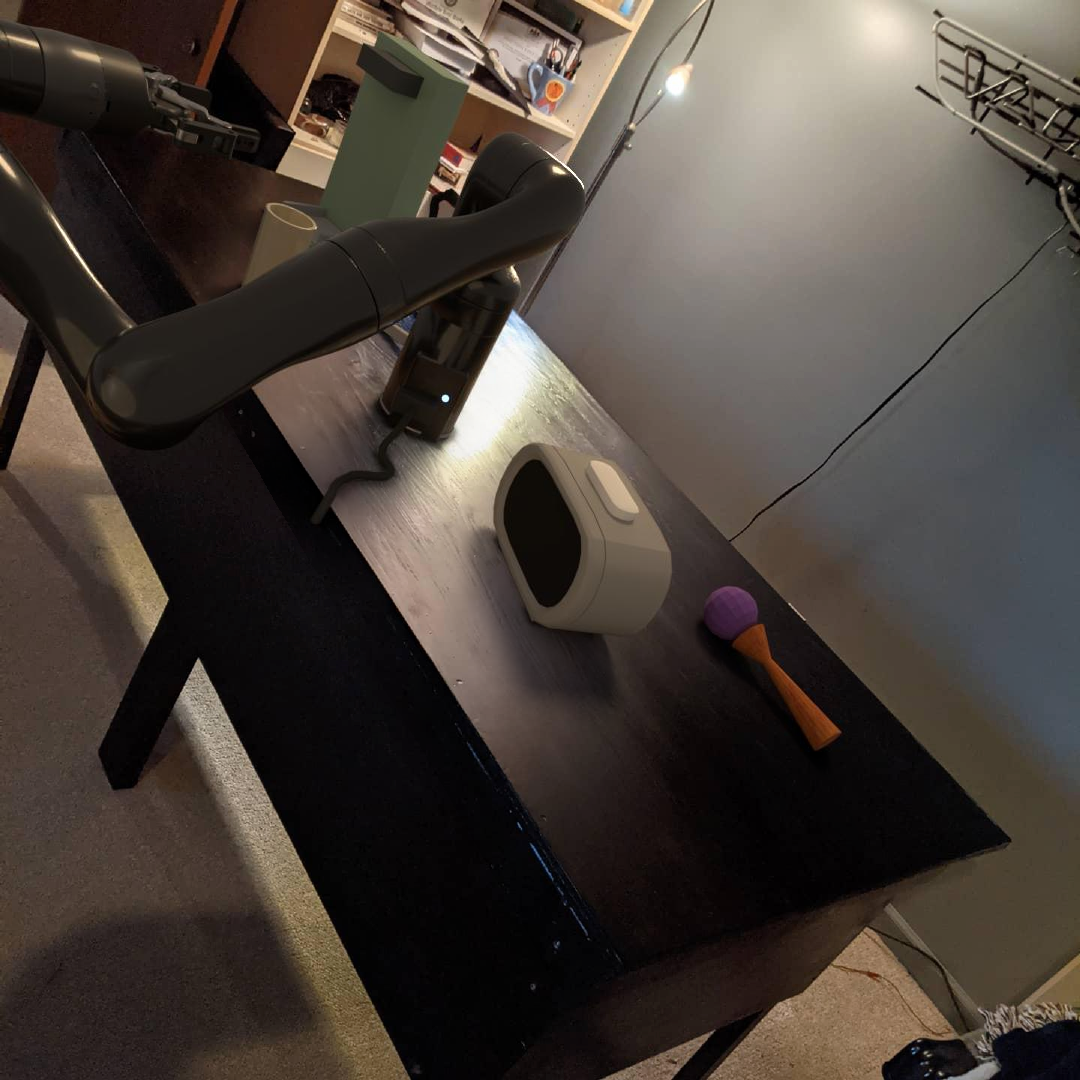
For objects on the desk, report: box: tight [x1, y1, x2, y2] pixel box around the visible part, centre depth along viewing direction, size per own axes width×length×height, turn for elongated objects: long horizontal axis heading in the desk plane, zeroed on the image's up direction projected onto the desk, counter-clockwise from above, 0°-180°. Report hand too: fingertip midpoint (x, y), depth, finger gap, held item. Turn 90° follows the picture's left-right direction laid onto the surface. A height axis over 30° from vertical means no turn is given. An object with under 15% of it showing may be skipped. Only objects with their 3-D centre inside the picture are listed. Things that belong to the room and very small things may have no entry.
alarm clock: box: [492, 441, 673, 638], centre depth 84 cm, size 21×10×13 cm, turn 21°
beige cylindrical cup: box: [241, 202, 317, 287], centre depth 104 cm, size 6×6×11 cm
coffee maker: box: [264, 30, 470, 248], centre depth 125 cm, size 16×14×29 cm
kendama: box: [702, 585, 842, 752], centre depth 91 cm, size 6×6×20 cm
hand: (232, 121), depth 87 cm, fingers open, 8 cm apart
